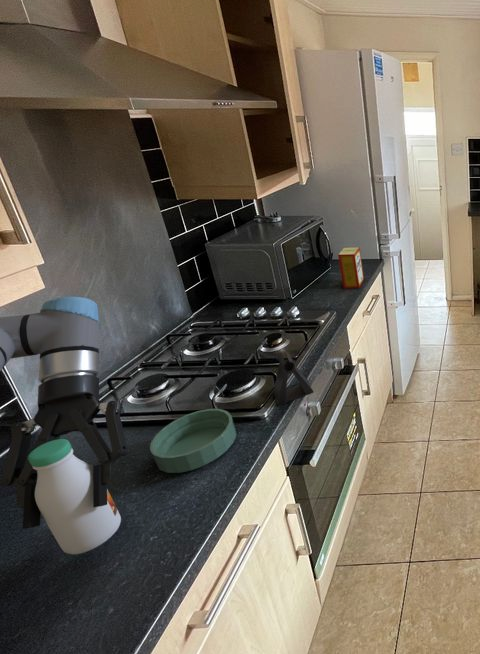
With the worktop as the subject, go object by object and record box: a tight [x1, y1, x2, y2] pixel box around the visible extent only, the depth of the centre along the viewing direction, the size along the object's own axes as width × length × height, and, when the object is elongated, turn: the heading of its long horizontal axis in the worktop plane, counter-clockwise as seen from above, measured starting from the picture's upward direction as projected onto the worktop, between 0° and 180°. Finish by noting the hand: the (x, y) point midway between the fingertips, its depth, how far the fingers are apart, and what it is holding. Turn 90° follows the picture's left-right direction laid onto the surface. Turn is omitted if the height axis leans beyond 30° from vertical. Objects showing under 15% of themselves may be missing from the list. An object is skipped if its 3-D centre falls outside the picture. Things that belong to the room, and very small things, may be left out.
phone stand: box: [273, 351, 314, 406], centre depth 113 cm, size 9×6×12 cm, turn 127°
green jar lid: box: [149, 408, 237, 474], centre depth 96 cm, size 15×15×5 cm
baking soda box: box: [337, 246, 365, 290], centre depth 182 cm, size 10×6×16 cm
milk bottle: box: [27, 438, 122, 555], centre depth 70 cm, size 8×8×20 cm
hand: (66, 516), depth 68 cm, fingers closed on milk bottle, 8 cm apart
